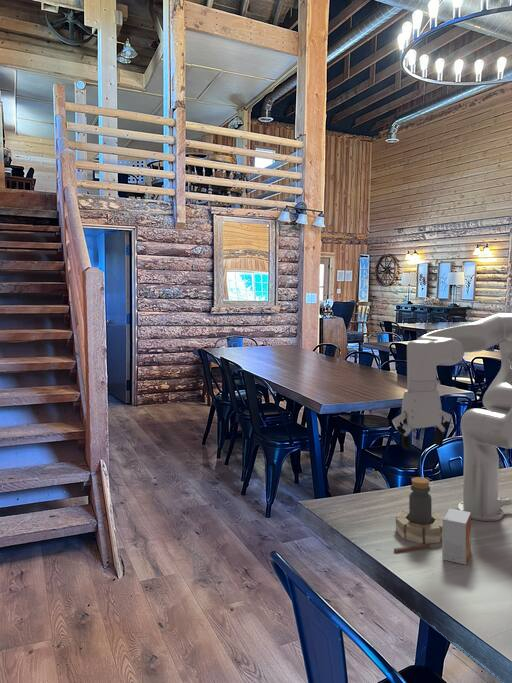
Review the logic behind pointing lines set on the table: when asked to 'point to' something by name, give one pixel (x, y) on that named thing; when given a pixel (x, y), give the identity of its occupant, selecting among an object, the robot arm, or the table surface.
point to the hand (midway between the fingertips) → (422, 447)
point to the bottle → (420, 502)
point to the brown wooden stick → (412, 548)
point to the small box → (456, 536)
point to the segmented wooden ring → (419, 528)
